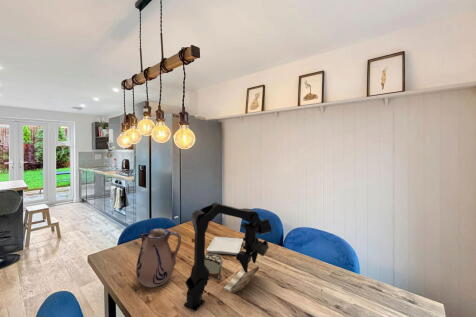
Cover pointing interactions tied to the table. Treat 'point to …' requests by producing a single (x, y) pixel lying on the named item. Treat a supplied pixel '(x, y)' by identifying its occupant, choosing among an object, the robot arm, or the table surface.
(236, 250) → the salad plate
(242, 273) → the ash board
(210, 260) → the food container
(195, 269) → the robot arm
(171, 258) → the ceramic pitcher
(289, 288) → the table surface
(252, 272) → the board
